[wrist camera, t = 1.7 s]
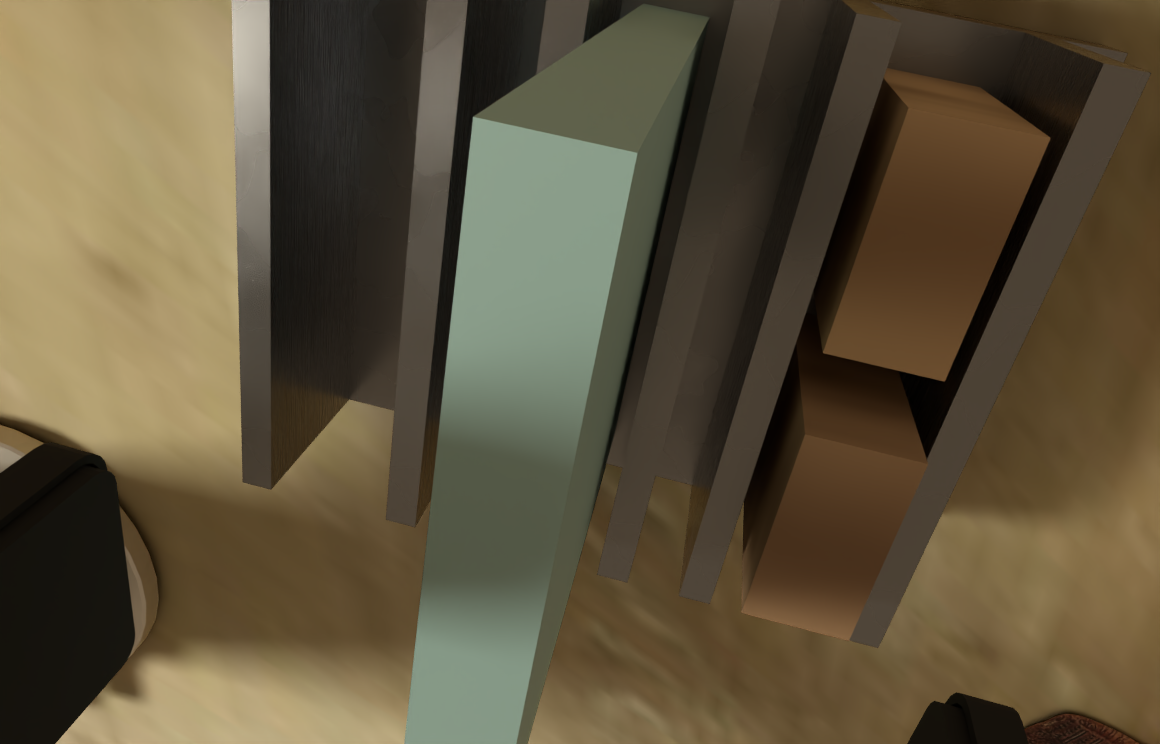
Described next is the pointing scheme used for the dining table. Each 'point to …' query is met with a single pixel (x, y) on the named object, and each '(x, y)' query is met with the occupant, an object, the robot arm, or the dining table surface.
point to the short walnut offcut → (923, 223)
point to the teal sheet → (541, 361)
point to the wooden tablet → (1074, 732)
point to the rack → (686, 244)
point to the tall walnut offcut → (827, 490)
